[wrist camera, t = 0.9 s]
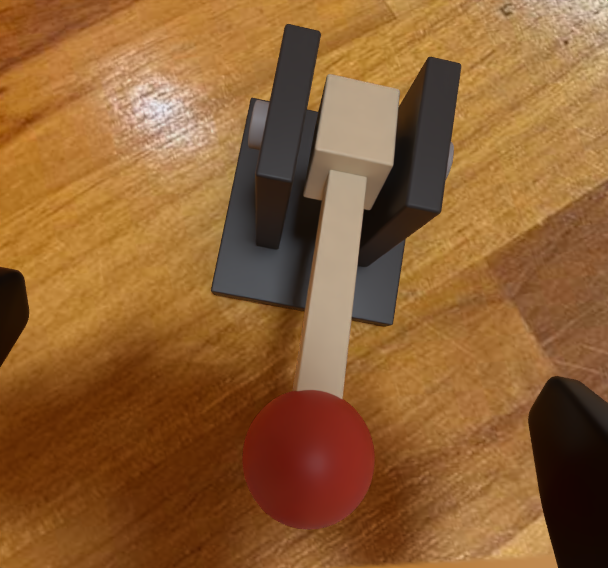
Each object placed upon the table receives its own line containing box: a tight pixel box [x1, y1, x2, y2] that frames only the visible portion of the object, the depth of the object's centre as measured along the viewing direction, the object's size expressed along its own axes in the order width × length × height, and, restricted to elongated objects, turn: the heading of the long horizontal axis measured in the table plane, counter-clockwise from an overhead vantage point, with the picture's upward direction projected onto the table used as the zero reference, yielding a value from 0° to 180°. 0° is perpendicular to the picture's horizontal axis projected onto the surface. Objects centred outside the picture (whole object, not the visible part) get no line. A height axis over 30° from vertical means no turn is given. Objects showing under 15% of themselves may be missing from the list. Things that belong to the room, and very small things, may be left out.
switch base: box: [211, 24, 461, 326], centre depth 18 cm, size 9×8×10 cm
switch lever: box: [242, 74, 400, 529], centre depth 13 cm, size 12×3×3 cm, turn 170°
